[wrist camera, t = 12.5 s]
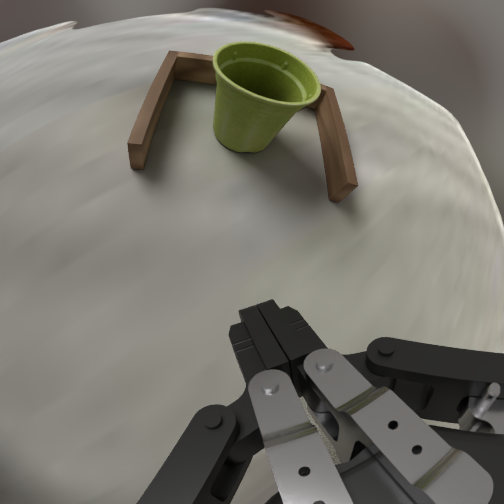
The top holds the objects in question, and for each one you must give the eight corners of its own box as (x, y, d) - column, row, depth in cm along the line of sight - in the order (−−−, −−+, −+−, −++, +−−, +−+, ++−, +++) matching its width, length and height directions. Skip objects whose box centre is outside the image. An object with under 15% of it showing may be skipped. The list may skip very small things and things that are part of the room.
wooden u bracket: (130, 168, 22) (127, 143, 19) (166, 73, 27) (169, 50, 24) (338, 202, 27) (358, 185, 24) (321, 106, 32) (333, 88, 29)
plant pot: (298, 134, 29) (334, 79, 21) (257, 185, 25) (295, 121, 17) (231, 93, 28) (251, 34, 20) (178, 134, 24) (188, 62, 16)
